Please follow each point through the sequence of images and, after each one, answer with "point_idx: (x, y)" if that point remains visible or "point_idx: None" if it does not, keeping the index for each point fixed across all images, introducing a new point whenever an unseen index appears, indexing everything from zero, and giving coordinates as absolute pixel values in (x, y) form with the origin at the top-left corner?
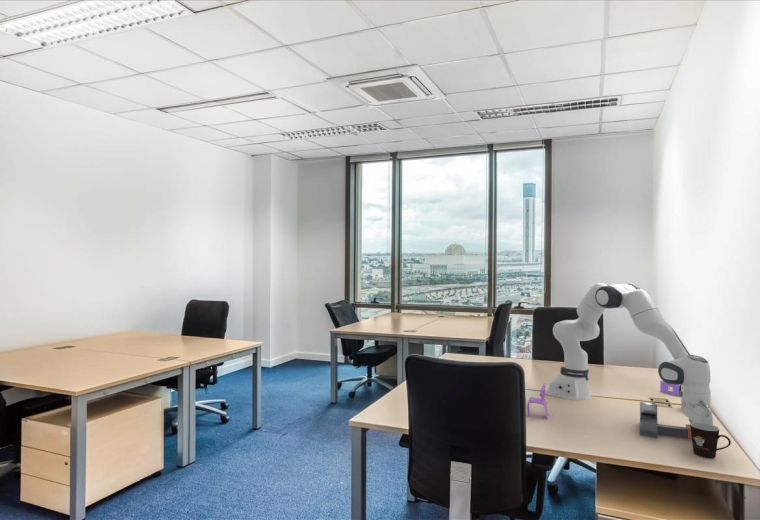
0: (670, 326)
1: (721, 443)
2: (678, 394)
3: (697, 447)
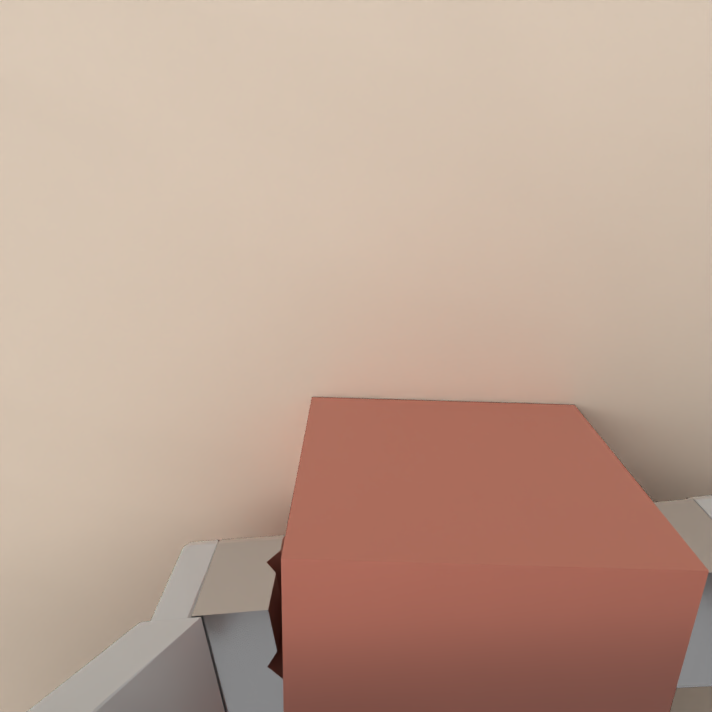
0: None
1: (655, 36)
2: None
3: None
